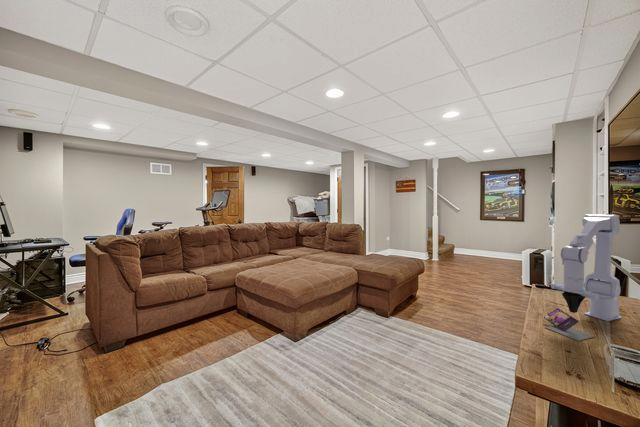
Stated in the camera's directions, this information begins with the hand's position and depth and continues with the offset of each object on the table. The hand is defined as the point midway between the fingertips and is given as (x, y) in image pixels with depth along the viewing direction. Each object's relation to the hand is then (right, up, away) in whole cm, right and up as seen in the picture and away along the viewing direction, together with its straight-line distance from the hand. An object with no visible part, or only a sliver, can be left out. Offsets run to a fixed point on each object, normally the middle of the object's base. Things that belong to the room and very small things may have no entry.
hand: (573, 311), depth 105 cm
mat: (-3, -7, -2) cm, 8 cm away
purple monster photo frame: (+1, -4, +3) cm, 5 cm away
